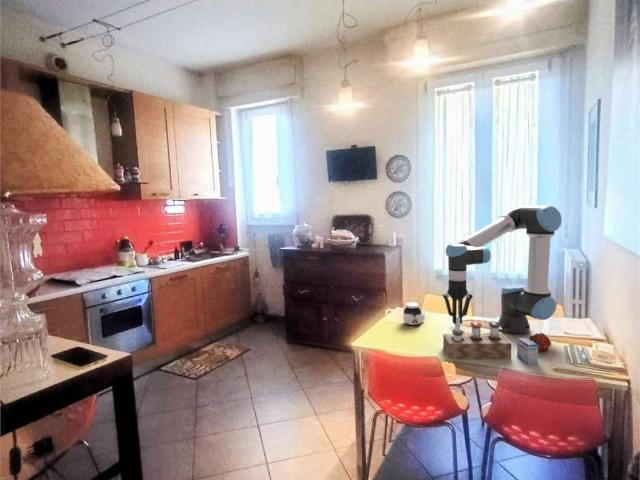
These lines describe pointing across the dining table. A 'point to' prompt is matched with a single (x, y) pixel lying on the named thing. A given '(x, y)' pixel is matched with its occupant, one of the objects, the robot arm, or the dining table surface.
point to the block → (477, 347)
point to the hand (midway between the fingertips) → (457, 330)
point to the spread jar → (413, 314)
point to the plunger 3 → (494, 330)
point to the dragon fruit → (541, 341)
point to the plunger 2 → (475, 331)
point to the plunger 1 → (457, 335)
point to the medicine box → (527, 351)
